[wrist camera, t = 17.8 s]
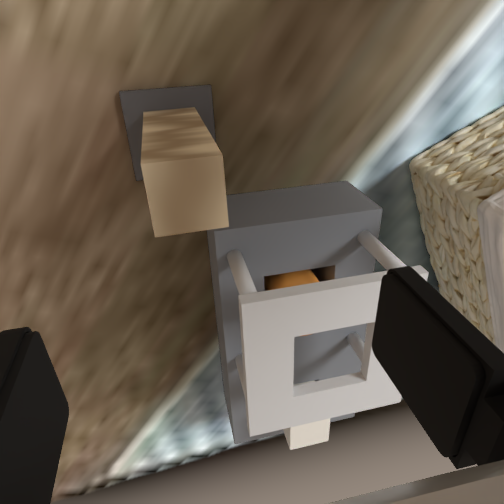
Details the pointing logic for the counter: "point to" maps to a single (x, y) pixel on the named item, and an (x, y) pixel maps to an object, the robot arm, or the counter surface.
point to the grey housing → (299, 307)
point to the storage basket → (466, 220)
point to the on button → (307, 432)
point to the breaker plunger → (289, 280)
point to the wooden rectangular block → (182, 173)
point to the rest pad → (162, 100)
